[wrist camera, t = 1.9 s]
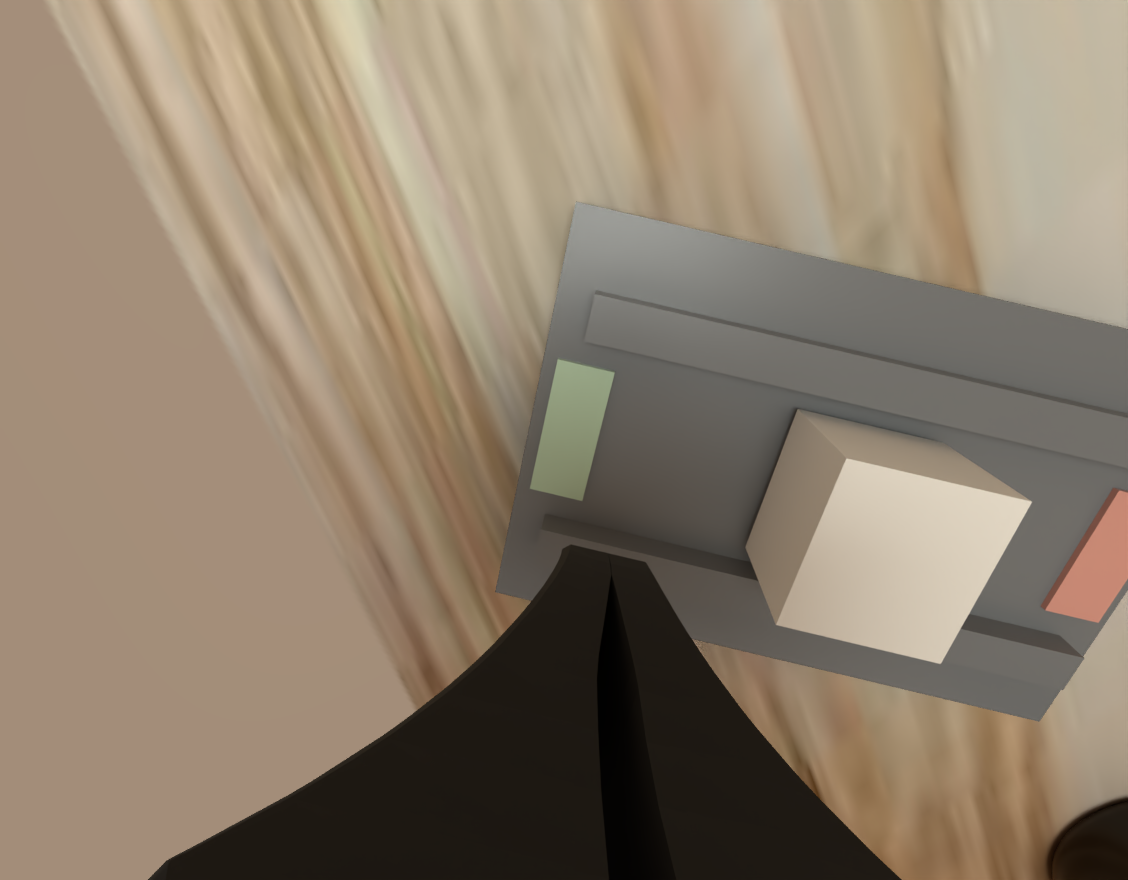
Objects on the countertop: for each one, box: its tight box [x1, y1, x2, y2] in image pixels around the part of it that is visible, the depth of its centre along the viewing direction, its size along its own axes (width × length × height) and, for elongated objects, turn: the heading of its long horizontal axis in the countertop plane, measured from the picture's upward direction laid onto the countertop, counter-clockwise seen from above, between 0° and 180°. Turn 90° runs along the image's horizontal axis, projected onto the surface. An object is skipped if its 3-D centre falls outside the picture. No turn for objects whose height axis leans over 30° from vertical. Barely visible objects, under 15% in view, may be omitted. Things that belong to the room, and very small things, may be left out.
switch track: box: [495, 202, 1128, 721], centre depth 17 cm, size 12×18×2 cm, turn 78°
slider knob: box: [745, 409, 1032, 664], centre depth 15 cm, size 4×4×4 cm
